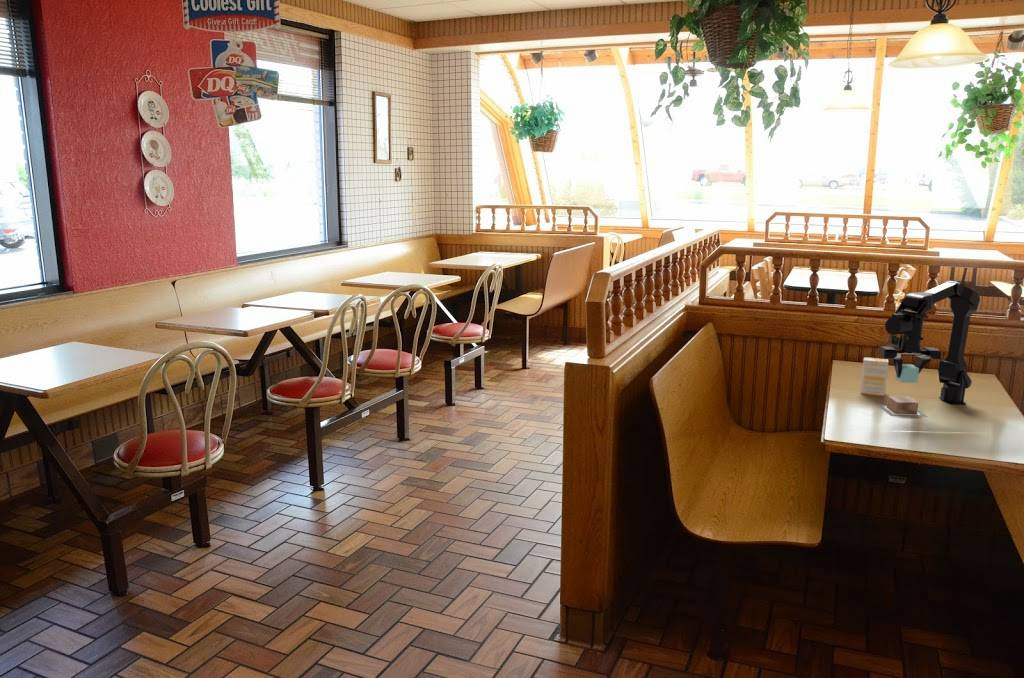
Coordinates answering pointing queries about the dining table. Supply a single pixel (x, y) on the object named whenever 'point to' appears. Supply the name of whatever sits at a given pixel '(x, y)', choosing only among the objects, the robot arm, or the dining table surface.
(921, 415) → the mat
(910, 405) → the walnut block
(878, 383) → the supplement box
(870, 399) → the dining table surface
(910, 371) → the teal cube
